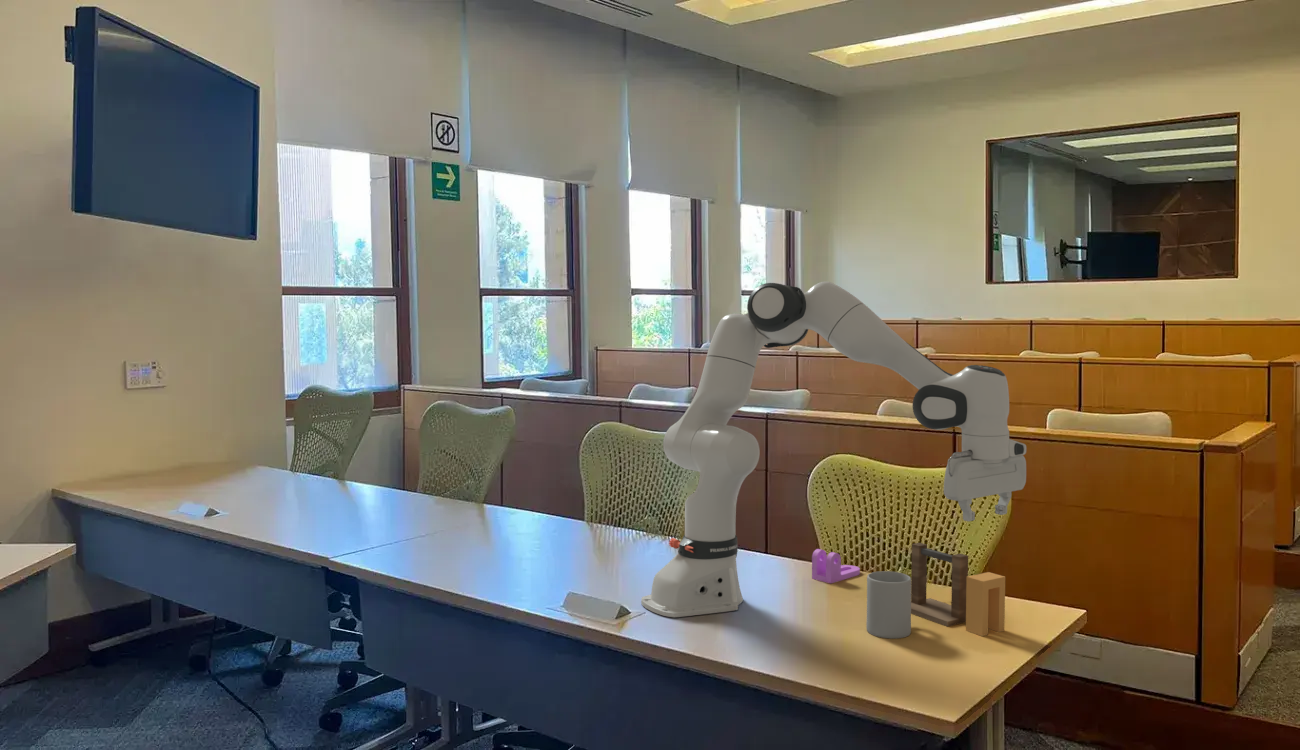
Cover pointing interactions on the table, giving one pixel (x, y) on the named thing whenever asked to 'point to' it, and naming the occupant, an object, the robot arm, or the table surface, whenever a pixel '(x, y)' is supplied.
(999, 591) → the tan arch block
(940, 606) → the stand with crossbar
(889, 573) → the mug
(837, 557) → the bracket
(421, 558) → the table surface
